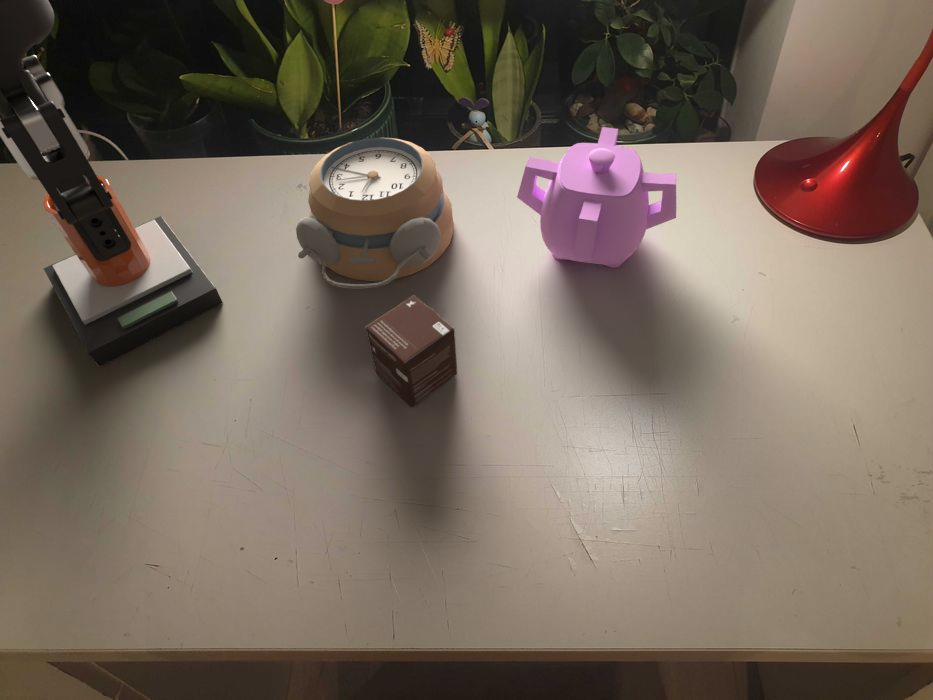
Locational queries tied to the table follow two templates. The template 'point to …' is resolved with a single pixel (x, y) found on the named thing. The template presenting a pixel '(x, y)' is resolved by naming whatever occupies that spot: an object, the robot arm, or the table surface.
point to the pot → (597, 201)
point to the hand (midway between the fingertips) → (92, 218)
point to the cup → (115, 268)
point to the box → (413, 350)
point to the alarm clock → (376, 212)
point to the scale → (134, 296)
